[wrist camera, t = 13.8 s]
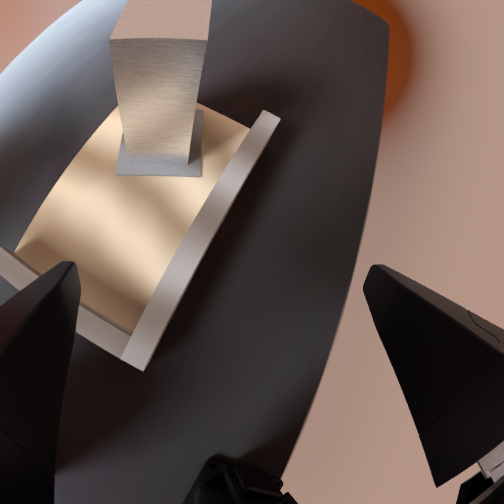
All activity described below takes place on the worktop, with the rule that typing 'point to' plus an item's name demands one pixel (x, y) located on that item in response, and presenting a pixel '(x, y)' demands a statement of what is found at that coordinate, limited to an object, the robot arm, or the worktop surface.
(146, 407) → the worktop surface
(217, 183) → the corner arena
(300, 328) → the worktop surface
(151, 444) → the worktop surface
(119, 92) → the aluminium post
